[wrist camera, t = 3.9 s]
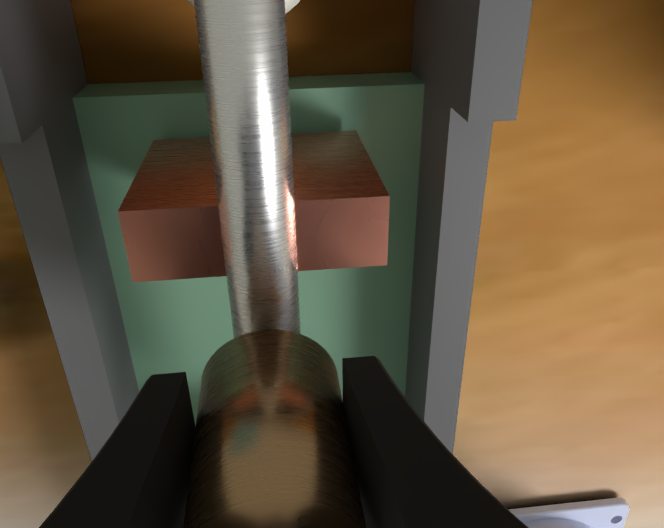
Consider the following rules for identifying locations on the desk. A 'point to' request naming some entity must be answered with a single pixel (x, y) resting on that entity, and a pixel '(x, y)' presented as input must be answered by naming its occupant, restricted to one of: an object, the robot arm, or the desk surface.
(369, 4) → the desk surface
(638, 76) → the desk surface
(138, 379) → the pitch
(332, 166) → the kicker
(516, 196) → the desk surface
